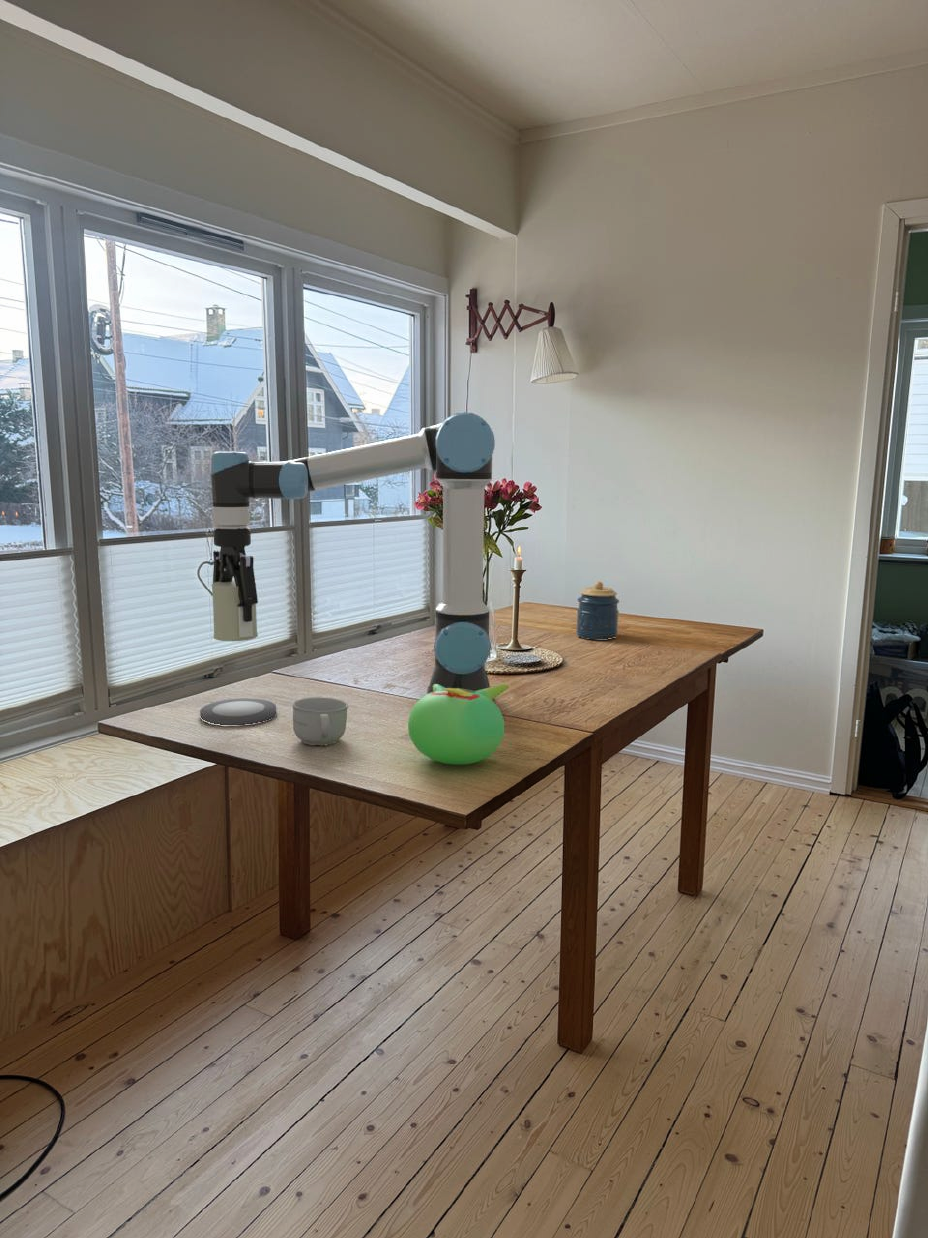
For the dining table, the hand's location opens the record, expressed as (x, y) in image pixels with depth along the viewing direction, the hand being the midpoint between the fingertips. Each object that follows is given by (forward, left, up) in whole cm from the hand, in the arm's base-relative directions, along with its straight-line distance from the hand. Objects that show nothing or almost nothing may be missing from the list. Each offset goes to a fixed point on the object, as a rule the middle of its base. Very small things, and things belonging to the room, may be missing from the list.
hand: (235, 632), depth 187 cm
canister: (+7, -126, -19) cm, 128 cm away
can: (0, 0, -1) cm, 1 cm away
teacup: (-27, -4, -19) cm, 33 cm away
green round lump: (-51, -19, -19) cm, 58 cm away
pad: (0, 0, -18) cm, 18 cm away
